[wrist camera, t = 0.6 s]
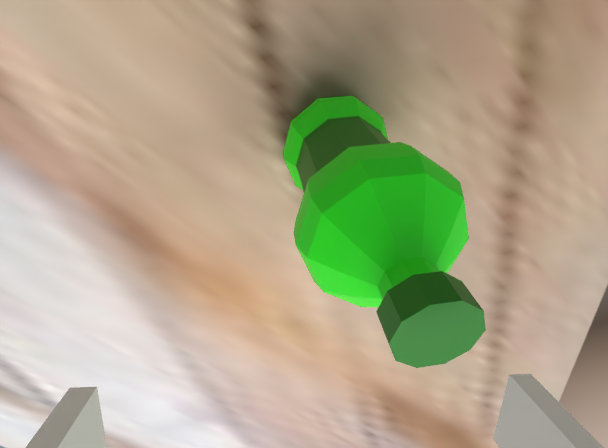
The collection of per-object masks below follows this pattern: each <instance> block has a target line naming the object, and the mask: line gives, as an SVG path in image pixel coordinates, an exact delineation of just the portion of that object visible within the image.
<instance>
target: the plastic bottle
mask: <svg viewBox="0 0 608 448" xmlns="http://www.w3.org/2000/svg"><path fill="white" fill-rule="evenodd" d="M283 157H284V160H285V162H286V164H287V167H288V169H289V171H290V173H291V176H292V178H293V180H294V182H295V185H296V186H297V187H299V188H301V189H302V190H303V191H304V195H303V199H302V202H301V205H300V209H299V212H298V215H297V218H296V222H295V228H294V237H295V242H296V246H297V248H298V250H299V252H300V254H301V256H302V258H303V260H304V262H305V264H306V266H307V268H308V270H309V272H310V274H311V276H312V278H313V280H314V282H315V283H316V284H317V285H318V286H319V287H320V288H321V289H322V291H323V292H326V293H328V294H330V295H333V296H335V297H338V298H340V299H343V300H345V301H348V302H350V303H353V304H355V305H358V306H360V307H379V308H378V310H377V314H378V317H379V320H380V322H381V325H382V328H383V330H384V333H385V335H386V338H387V340H388V343H389V345H390V348H391V350H392V353H393V355H394V358H395V360H396V361H398V362H401V363H404V364H407V365H410V366H413V367H416V368H418V367H425V366H432V365H439V364H445V363H447V362H448V361H450V360H452V359H454V358H456V357H458V356H460V355H461V354H463V353H465V352H467V351H469V350H470V349H471V348H472V347H473V346H474V344H475V343H476V342H477V340H478V339H479V338H480V336H481V335H482V334H483V333H484V331H485V330H486V329H485V320H484V311H483V309H482V308H481V307H480V305H479V304H478V303H477V301H476V300H475V299H474V297H473V296H472V294H471V293H470V292H469V290H468V289H467V288H466V286H465V285H464V284H463V282H462V281H460V280H458V279H456V278H455V277H453V276H451V275H449V274H447V273H448V271H449V270H450V268H451V266H452V265H453V263H454V262H455V260H456V258H457V257H458V255H459V253H460V252H461V250H462V249H463V247H464V245H465V244H466V242H467V241H468V239H469V236H468V228H467V220H466V212H465V204H464V197H463V193H462V189H461V185H460V182H459V181H458V180H457V179H456V178H455V177H454V176H453V175H451V174H450V173H449V172H448V171H446V170H445V169H443V168H442V167H440V166H439V165H438V164H436V163H435V162H433V161H432V160H430V159H429V158H427V157H426V156H424V155H423V154H422V153H420V152H419V151H417V150H416V149H414V148H413V147H411V146H409V145H407V144H404V143H401V142H397V143H390V142H389V141H388V137H387V133H386V129H385V125H384V121H383V118H382V117H381V116H380V115H379V114H378V113H377V112H375V111H374V110H372V109H371V108H370V107H368V106H367V105H365V104H364V103H362V102H361V101H360V100H358V99H357V98H355V97H354V96H341V97H329V98H318V99H317V100H315V101H314V102H313V103H312V104H311V105H310V106H308V107H307V108H306V109H305V110H304V111H302V112H301V113H300V114H299V115H298V116H297V117H295V118H294V119H293V120H292V121H291V123H290V127H289V131H288V135H287V139H286V143H285V146H284V150H283Z"/></svg>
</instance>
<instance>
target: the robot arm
mask: <svg viewBox="0 0 608 448" xmlns="http://www.w3.org/2000/svg"><path fill="white" fill-rule="evenodd" d="M493 439H494V441H495V442H496V444H497V445H498V447H499V448H604V447H603V446H602V445H601V444H600V443H599V442H598V441H597V440H596V439H595V438H594V437H593V436H592V435H591V434H590V433H589V432H588V431H587V430H586V429H585V428H584V427H583V426H582V425H581V424H580V423H579V422H578V421H577V420H576V419H575V418H574V417H573V416H572V415H571V414H570V413H569V412H568V411H567V410H566V409H565V408H564V407H563V406H562V405H561V404H560V403H559V402H558V401H557V400H556V399H555V398H554V397H553V396H552V395H551V394H550V393H549V392H548V391H547V390H546V389H545V388H544V387H543V386H542V385H541V384H540V383H539V382H538V381H537V380H536V379H535V378H534V377H533V376H532V375H531V374H516V375H509V378H508V382H507V386H506V390H505V394H504V398H503V402H502V406H501V410H500V414H499V418H498V422H497V426H496V430H495V434H494V438H493ZM26 448H107V446H106V440H105V434H104V428H103V421H102V415H101V409H100V403H99V397H98V391H97V387H81V388H69V390H68V391H67V392H66V394H65V395H64V396H63V398H62V399H61V401H60V402H59V403H58V405H57V406H56V407H55V409H54V410H53V411H52V413H51V414H50V415H49V417H48V418H47V419H46V421H45V422H44V423H43V425H42V426H41V428H40V429H39V430H38V432H37V433H36V434H35V436H34V437H33V438H32V440H31V441H30V442H29V444H28V445H27V446H26Z"/></svg>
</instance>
